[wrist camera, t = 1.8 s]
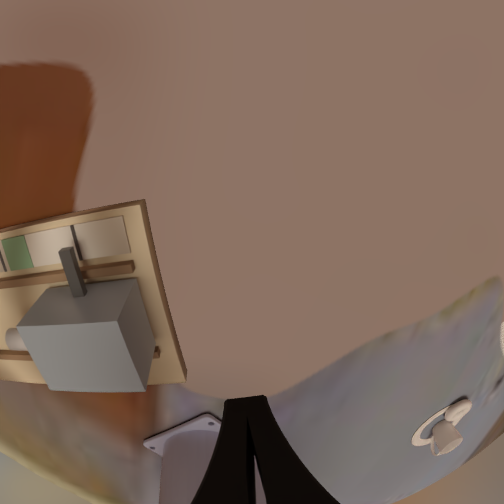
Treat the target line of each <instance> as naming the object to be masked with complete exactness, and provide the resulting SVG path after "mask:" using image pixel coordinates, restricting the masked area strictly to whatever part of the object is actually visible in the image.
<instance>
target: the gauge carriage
mask: <svg viewBox="0 0 504 504" xmlns="http://www.w3.org/2000/svg"><path fill="white" fill-rule="evenodd" d="M58 253H59V256H60V260H61V263H62V266H63V269H64V272H65V275H66V278H67V281H68V284H69V286H66V287H57V288H48V289H46V290H45V291H44V292H43V294H42V295H41V296H40V297H39V298H38V300H37V301H36V302H35V303H34V304H33V306H32V307H31V308H30V309H29V310H28V312H27V313H26V314H25V315H24V317H23V318H22V319H21V321H20V322H19V323H18V324H17V326H16V328H9V329H8V330H7V331H6V334H5V341H6V344H7V346H8V348H9V349H10V350H16V351H28V352H29V354H30V355H31V357H32V359H33V361H34V363H35V364H36V366H37V368H38V370H39V371H40V373H41V375H42V377H43V378H44V380H45V382H46V383H47V385H48V386H49V388H50V390H58V391H78V392H146V387H147V382H148V377H149V373H150V368H151V363H152V359H153V354H154V350H155V345H156V342H155V339H154V336H153V333H152V330H151V327H150V324H149V320H148V317H147V314H146V311H145V307H144V304H143V300H142V297H141V294H140V290H139V286H138V283H137V279H136V278H135V279H126V280H118V281H109V282H101V283H92V284H85V283H84V280H83V277H82V274H81V271H80V267H79V264H78V261H77V258H76V254H75V251H74V247H73V246H71V247H65V248H62V249H61V250H59V251H58Z"/></svg>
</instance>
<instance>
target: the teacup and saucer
mask: <svg viewBox="0 0 504 504" xmlns="http://www.w3.org/2000/svg"><path fill="white" fill-rule="evenodd" d="M501 346H502V351H503V355H504V322H503V323H502V324H501ZM471 407H472V402H471V401H470V400H468V399H464V400H461V401H459V402H457V403H455V404H453V405H450V406H448V407H446V408H444V409H442V410H441V411H439V412H437V413H436V414H434V415H433V416H432V417H430V418H429V419H428V420H427V421H426V422H424V423H423V424H422V425H421V426H420V427H419V428H418V430H417V431H416V432H415V433H414V435H413V437H412V441H411V442H412V444H413V445H415V446H422V445H426V444H429V443H431V452H432V454H433V455H434V456H438V455H440V454H446V453H448V452H450V451H452V450H453V449H455V448H456V447H457V446H458V445H459V444H460V443H461V442H462V440H463V438H462V436H461V435H460V433H459V432H458V431H457V429H456V428H455V427H454V426H455V425H456V424H457V423H458V422H459V421H460V419H461V418H462V417H463V416H464V415H465V414H466V413H467V412H468V411H469V410H470V409H471ZM444 412H446V413H445V417H444V418H445V420H442V421H440V422H439V423H437V424H436V425H435V426H434V427H433V429H432V433H433V435H432V438H429V439H421V438H420V434H421V432H422V430H423V429H424V428H425V427H426V426H427V425H428V424H429V423H430V422H431V421H432V420H433V419H435V418H436V417H438V416H439V415H441V414H442V413H444ZM449 421H453V423H452V424H451V423H450V422H449ZM434 441H435V442H436V445H437V447H438V449H439V453H438V454H435V452H434Z"/></svg>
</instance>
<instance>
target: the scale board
mask: <svg viewBox="0 0 504 504" xmlns="http://www.w3.org/2000/svg"><path fill="white" fill-rule="evenodd" d="M71 246H73V247H74V251H75V254H76V258H77V261H78V264H79V267H80V271H81V274H82V277H83V280H84V283H85V284H92V283H101V282H109V281H118V280H126V279H135V278H136V279H137V283H138V286H139V290H140V294H141V297H142V300H143V304H144V307H145V311H146V314H147V317H148V320H149V324H150V327H151V330H152V333H153V336H154V339H155V342H156V345H155V350H154V354H153V359H152V363H151V368H150V373H149V377H148V382H147V385H152V384H171V383H186V377H187V369H186V366H185V362H184V359H183V356H182V352H181V349H180V345H179V342H178V339H177V335H176V331H175V328H174V324H173V320H172V317H171V313H170V309H169V305H168V301H167V298H166V294H165V290H164V286H163V281H162V277H161V274H160V269H159V265H158V260H157V256H156V251H155V246H154V242H153V238H152V233H151V228H150V222H149V217H148V212H147V207H146V202H145V199H142V200H137V201H131V202H125V203H119V204H114V205H108V206H103V207H98V208H93V209H88V210H83V211H78V212H73V213H68V214H63V215H59V216H54V217H50V218H45V219H41V220H36V221H32V222H28V223H24V224H19V225H15V226H11V227H7V228H3V229H0V380H8V381H18V382H29V383H43V384H47V383H46V382H45V380H44V378H43V377H42V375H41V373H40V371H39V370H38V368H37V366H36V364H35V363H34V361H33V359H32V357H31V355H30V354H29V352H28V351H16V350H10V349H9V348H8V346H7V344H6V341H5V334H6V331H7V330H8V329H9V328H16V326H17V324H18V323H19V322H20V321H21V319H22V318H23V317H24V315H25V314H26V313H27V312H28V310H29V309H30V308H31V307H32V306H33V304H34V303H35V302H36V301H37V300H38V298H39V297H40V296H41V295H42V294H43V292H44V291H45V290H46V289H48V288H57V287H66V286H69V284H68V281H67V278H66V275H65V272H64V269H63V266H62V263H61V260H60V256H59V253H58V251H59V250H61V249H62V248H65V247H71Z"/></svg>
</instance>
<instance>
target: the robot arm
mask: <svg viewBox="0 0 504 504" xmlns="http://www.w3.org/2000/svg"><path fill="white" fill-rule="evenodd" d="M143 445H144V446H145V447H146V448H148V449H150V450H152V451H153V452H155V453H157V454H158V455H160V456H162V468H161V481H160V495H159V504H340V503H339V502H338V501H337V500H336V499H335V498H334V497H332V496H331V495H330V494H329V493H328V492H327V490H326V489H325V488H324V487H323V486H322V485H321V484H320V483H319V482H318V481H317V480H316V479H315V478H314V476H313V475H312V474H311V473H310V472H309V470H308V469H307V468H306V467H305V465H304V464H303V463H302V461H301V460H300V459H299V457H298V456H297V455H296V453H295V452H294V450H293V449H292V447H291V446H290V444H289V443H288V441H287V440H286V438H285V436H284V435H283V433H282V431H281V430H280V428H279V426H278V424H277V422H276V420H275V418H274V416H273V414H272V412H271V409H270V407H269V404H268V401H267V397H266V396H264V395H259V396H252V397H245V398H235V399H227V400H226V401H225V402H224V411H223V417H222V422H221V421H219V420H218V419H216V418H215V417H213V416H212V415H210V414H204V415H201V416H199V417H197V418H195V419H193V420H191V421H188V422H186V423H184V424H182V425H180V426H177V427H175V428H173V429H170V430H168V431H166V432H163V433H161V434H159V435H156V436H154V437H151V438H149V439H146V440H144V442H143Z"/></svg>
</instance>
